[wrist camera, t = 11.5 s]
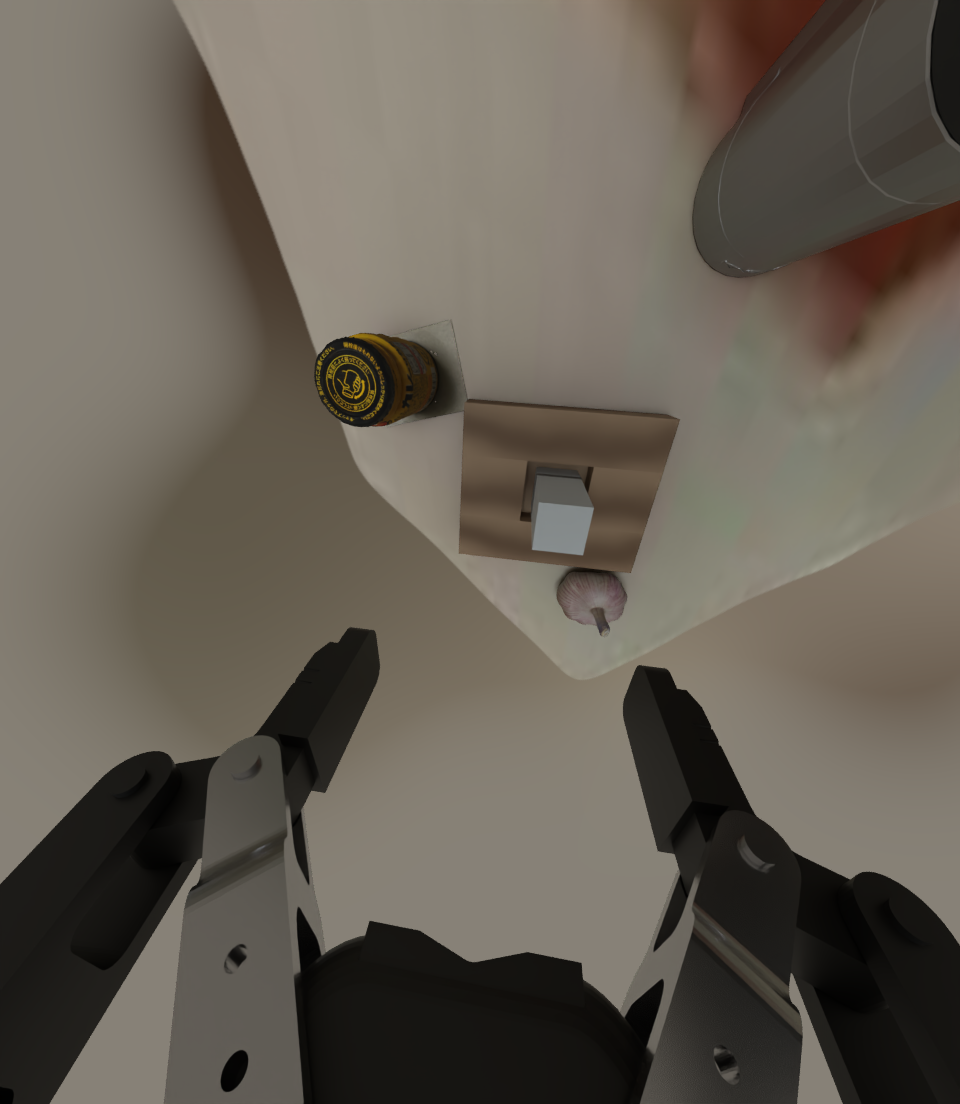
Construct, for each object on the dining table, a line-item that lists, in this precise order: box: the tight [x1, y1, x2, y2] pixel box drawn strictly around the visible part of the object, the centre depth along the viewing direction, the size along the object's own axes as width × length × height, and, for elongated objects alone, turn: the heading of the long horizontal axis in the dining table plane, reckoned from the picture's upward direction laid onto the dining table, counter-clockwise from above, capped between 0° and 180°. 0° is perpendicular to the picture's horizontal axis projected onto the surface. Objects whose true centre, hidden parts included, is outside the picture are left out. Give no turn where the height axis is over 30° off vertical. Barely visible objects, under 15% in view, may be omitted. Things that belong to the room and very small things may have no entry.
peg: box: [531, 467, 594, 555], centre depth 31 cm, size 4×4×10 cm
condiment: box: [314, 320, 467, 427], centre depth 27 cm, size 7×8×12 cm
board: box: [459, 399, 680, 573], centre depth 34 cm, size 15×18×3 cm
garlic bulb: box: [557, 572, 627, 637], centre depth 38 cm, size 8×7×8 cm
